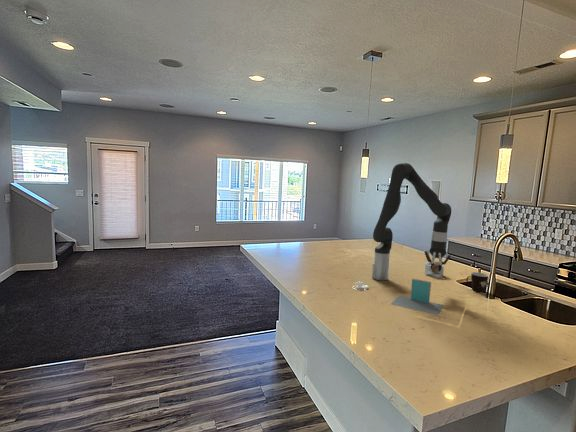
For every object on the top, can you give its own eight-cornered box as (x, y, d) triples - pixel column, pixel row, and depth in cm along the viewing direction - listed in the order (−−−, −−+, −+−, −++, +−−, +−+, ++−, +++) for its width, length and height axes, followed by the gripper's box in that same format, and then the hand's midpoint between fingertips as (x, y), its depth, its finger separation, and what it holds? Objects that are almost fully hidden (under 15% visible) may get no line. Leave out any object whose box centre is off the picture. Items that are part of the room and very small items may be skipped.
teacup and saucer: (369, 288, 187) (369, 281, 186) (366, 292, 179) (366, 285, 179) (354, 285, 190) (354, 279, 190) (351, 289, 183) (351, 282, 183)
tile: (410, 299, 167) (411, 279, 166) (411, 298, 168) (412, 278, 167) (428, 303, 162) (430, 282, 161) (429, 302, 163) (431, 281, 162)
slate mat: (390, 305, 160) (390, 303, 160) (399, 296, 173) (399, 295, 173) (438, 316, 148) (438, 315, 148) (443, 306, 161) (443, 304, 161)
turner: (426, 275, 168) (426, 268, 167) (432, 267, 183) (432, 260, 182) (438, 278, 165) (439, 270, 164) (443, 269, 179) (444, 263, 179)
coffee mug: (484, 289, 190) (486, 273, 189) (488, 294, 182) (490, 277, 180) (462, 286, 193) (464, 270, 192) (465, 291, 185) (467, 274, 184)
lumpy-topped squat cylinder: (429, 277, 212) (430, 264, 211) (421, 271, 225) (421, 259, 224) (445, 277, 213) (446, 264, 212) (435, 272, 226) (436, 260, 225)
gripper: (424, 238, 173) (421, 269, 176) (452, 242, 166) (448, 274, 168) (426, 237, 180) (423, 266, 182) (454, 240, 172) (450, 271, 174)
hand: (435, 270), depth 175 cm, fingers closed on turner, 2 cm apart
